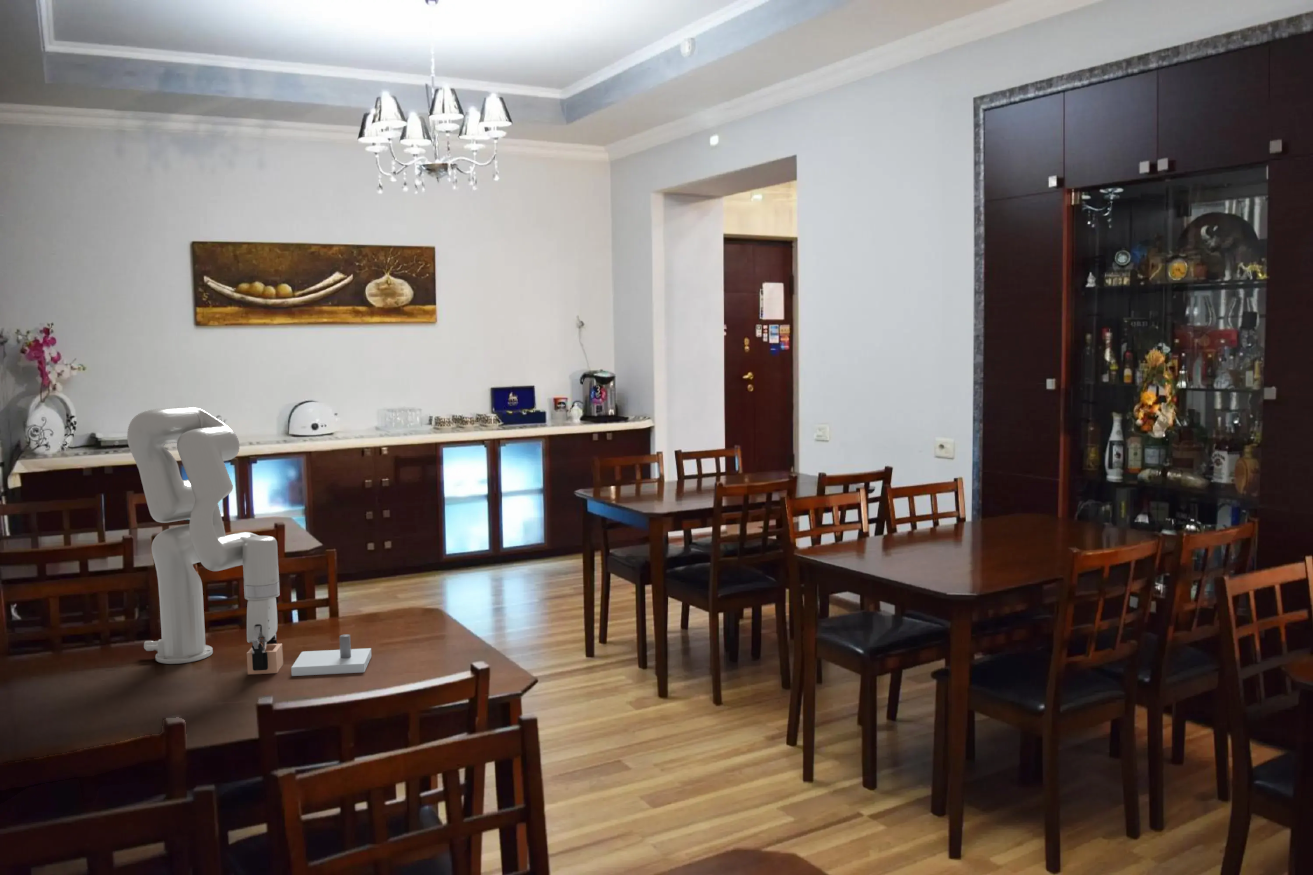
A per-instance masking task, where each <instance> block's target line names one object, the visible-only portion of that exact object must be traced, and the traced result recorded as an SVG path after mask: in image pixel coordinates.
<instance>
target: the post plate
mask: <svg viewBox="0 0 1313 875" xmlns="http://www.w3.org/2000/svg"><path fill="white" fill-rule="evenodd" d="M351 646H352V645H351V634H349V633H348V634H341V635H339V649H330V650H329V649H326V650H325V649H324V650H307V651H306V650H305V651H301V652H300V654H299V655H298V657H297V658H296V659H295V662H293V664H292V666H291V667H290V670H291V671H290V672H291V677H297V676H298V677H299V676H314V675H315V676H316V675H317V676H318V675H336V674H338V675H339V674H353V673H355V674H356V673H357V674H358V673H365V672H366V670H367V667H368V665H369V662H370V661H371V658H372V648H371V647H369V648H352V647H351Z"/></svg>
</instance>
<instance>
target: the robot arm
mask: <svg viewBox="0 0 1313 875" xmlns="http://www.w3.org/2000/svg"><path fill="white" fill-rule="evenodd" d="M126 437H127V438H126V439H127V445H128V448H129V450H130V453H131V455H132V457H133V459H134V461H135V464H136V467H137V469H138V472H139V476H140V480H141V484H142V488H143V493H144V496H145V500H146V504H147V507H148V511H149V514H150V516H151V518H152V519H153V520H154V521H155V522H157V523H162V524H163V523H164V524H165V523H172V522H178V521H179V522H180V521H184V520H189V524H184V525H178V526H174V527H169V528H166V529H164V530H162V531H160V532H159V533H158V534H156V535H155V537H154V539H153V540H152V543H151V554H152V558H153V559H152V560H153V562H154V564H155V565H154V566H155V570H156V576H157V584H158V597H159V611H160V612H159V613H160V617H159V618H160V628H161V629H160V630H161V633H160V634H161V639H158V640H155V641H154V640H145V641H144V643H143V648H144V650H145V651H146V652H153V651H156V652H157V653H156V654H155V661H156V662H158V663H160V664H166V665H167V664H168V665H179V664H186V663H187V664H188V663H194V662H198V661H202V660H204V659H206V658H208V657H210V656H211V655H212V654H213V653H214V650H213V647H212V646H210V645H208V644H206V628H205V613H204V612H205V611H204V609H205V608H204V607H205V606H204V595H203V593H204V591H203V582H202V579H201V576H200V575H199V573H198V572H197V571H196V569H195V567H194V565H195V564H197V563H200V564H201V565H202V566H203V567H204V569H207V570H209V571H212V572H219V571H223V570H228V569H232V568H235V567H240V566H242V570H243V571H242V572H243V589H244V590H243V592H244V593H243V594H244V599H245V600H247V605H246V606H247V607H246V641H247V643H249V644H251V643H252V645H251V647H252V663H253V670H254V671H257V670H267V669H268V656H267V652H266V644H278V640H277V632H278V607H277V598H278V597H279V596H280V575H279V574H280V573H279V555H278V554H279V552H278V550H279V549H278V541H277V539H276V538H275V537H274V536H270V535H258V534H256V533H253V532H250V531H241V532H236V533H232V534H226V530H225V525H224V522H223V518H222V514H221V510H220V507H219V506H220V505H219V503H220V501H222V500H223V499H225V498H226V497H228V495H229V494H231V493H232V491H233V489H234V485H233V483H232V480H231V478H230V477H231V476H230V475H229V473H228V470H227V467H226V464H225V462H226V461H230V460H233V459H235V458H236V457H237V456H238V454H239V452H240V441H239V437H238V436H237V434H236V432H234V430H233V429H232V428H231V427H230V426H228V425H227V424H226V423H225V422H223V421H222V420H220V419H218V418H217V417H215V416H214V415H212V414H210V413H208V412H207V411H205V410H204V409H202V408H199V407H195V406H180V407H179V406H178V407H165V408H155V409H148V410H145V411H141V412H140V413H138V414H136V415H135V416H134V417H133V418H132V419H131V420H130V422H129V424H128V427H127V434H126ZM168 444H176V448H177V452H178V455H179V458H180V461H181V463H182V466H183V468H184V471H185V473H186V476H187V479H185V480H183V478H182V476H181V472H180V468H179V463H178V462H177V460H176V459H175V457H174V456H173V455H172V453H171V452H170V451H169V450H168V449H167V448H165V447H164V446H165V445H168ZM261 644H263V647H262V645H261Z"/></svg>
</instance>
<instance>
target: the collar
mask: <svg viewBox="0 0 1313 875" xmlns="http://www.w3.org/2000/svg"><path fill="white" fill-rule="evenodd" d="M260 644H261V645H262V647H263V644H262V643H260ZM266 652H267V656H268V669H267V670H257V671H254V670H253V663H252V646H251V647H250V648H249V650H248V651H247V652H246V664H247V665H246V666H247V675H262V674H264V675H265V674H277V673H278V672H279V671H280V670H281V668H282V667H283V665H284V653H283V643H277V644H266Z"/></svg>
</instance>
